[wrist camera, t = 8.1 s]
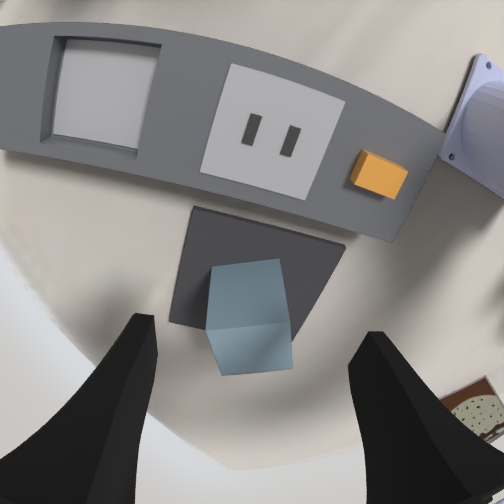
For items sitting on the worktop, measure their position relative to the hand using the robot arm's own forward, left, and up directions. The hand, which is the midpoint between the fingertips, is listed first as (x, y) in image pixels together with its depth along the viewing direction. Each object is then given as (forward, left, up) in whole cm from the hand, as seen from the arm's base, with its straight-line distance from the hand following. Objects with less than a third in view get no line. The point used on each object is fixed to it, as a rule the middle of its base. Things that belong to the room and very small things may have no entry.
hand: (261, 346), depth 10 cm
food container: (-40, +21, -11) cm, 46 cm away
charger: (-2, +6, -10) cm, 12 cm away
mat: (-2, +6, -10) cm, 12 cm away
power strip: (+4, -5, -10) cm, 12 cm away
